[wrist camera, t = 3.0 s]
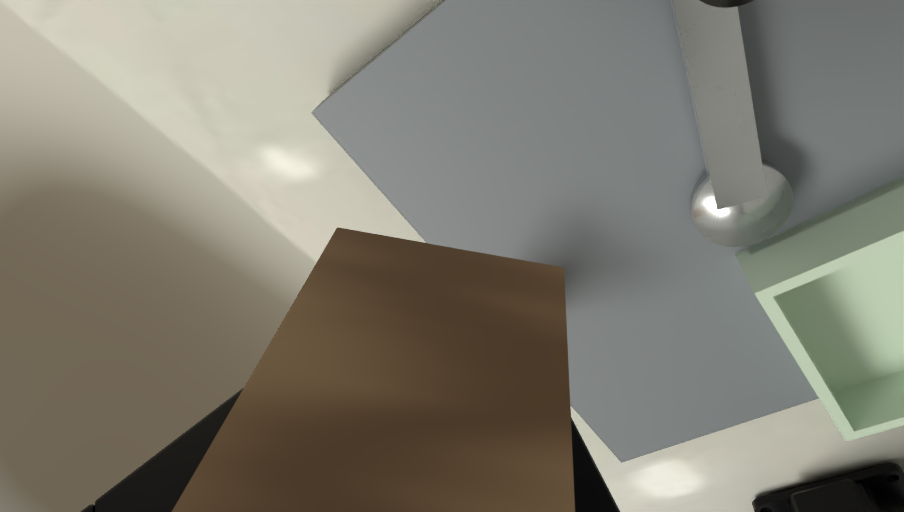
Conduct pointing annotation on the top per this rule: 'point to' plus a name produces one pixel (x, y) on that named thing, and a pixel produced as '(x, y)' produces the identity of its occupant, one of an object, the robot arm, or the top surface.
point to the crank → (727, 130)
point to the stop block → (403, 390)
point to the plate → (627, 179)
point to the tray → (842, 306)
